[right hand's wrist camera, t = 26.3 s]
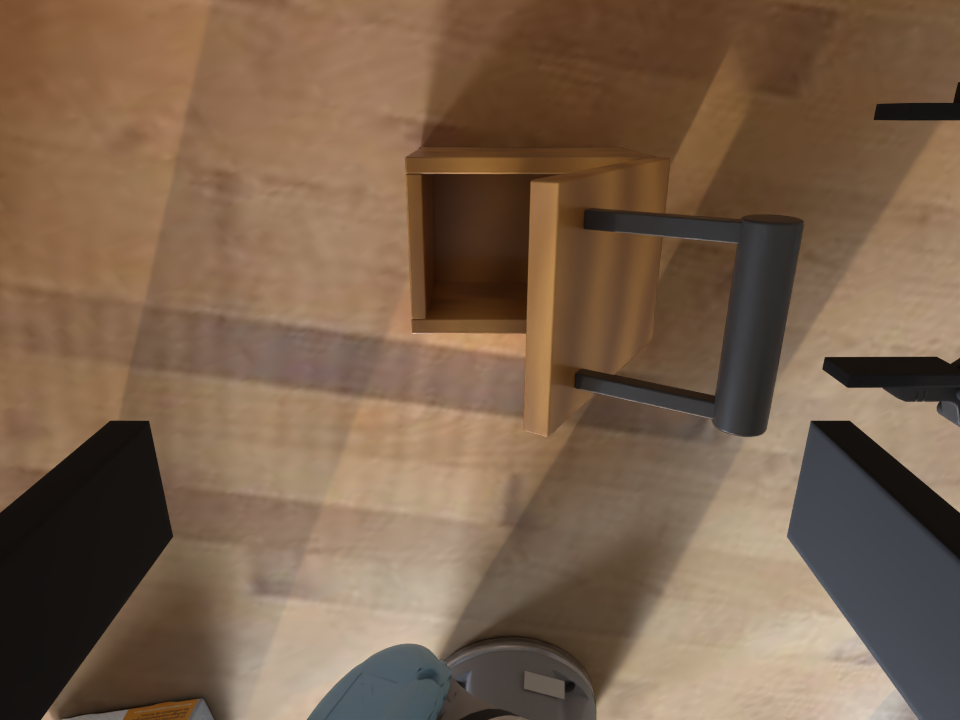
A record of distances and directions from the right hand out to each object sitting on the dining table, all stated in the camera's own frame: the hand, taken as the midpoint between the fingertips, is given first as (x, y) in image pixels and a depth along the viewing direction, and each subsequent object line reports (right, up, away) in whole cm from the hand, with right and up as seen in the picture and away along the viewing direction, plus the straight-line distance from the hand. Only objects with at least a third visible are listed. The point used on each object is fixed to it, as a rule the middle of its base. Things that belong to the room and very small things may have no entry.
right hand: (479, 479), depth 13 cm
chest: (+3, +12, +30) cm, 32 cm away
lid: (+5, +6, +16) cm, 18 cm away
